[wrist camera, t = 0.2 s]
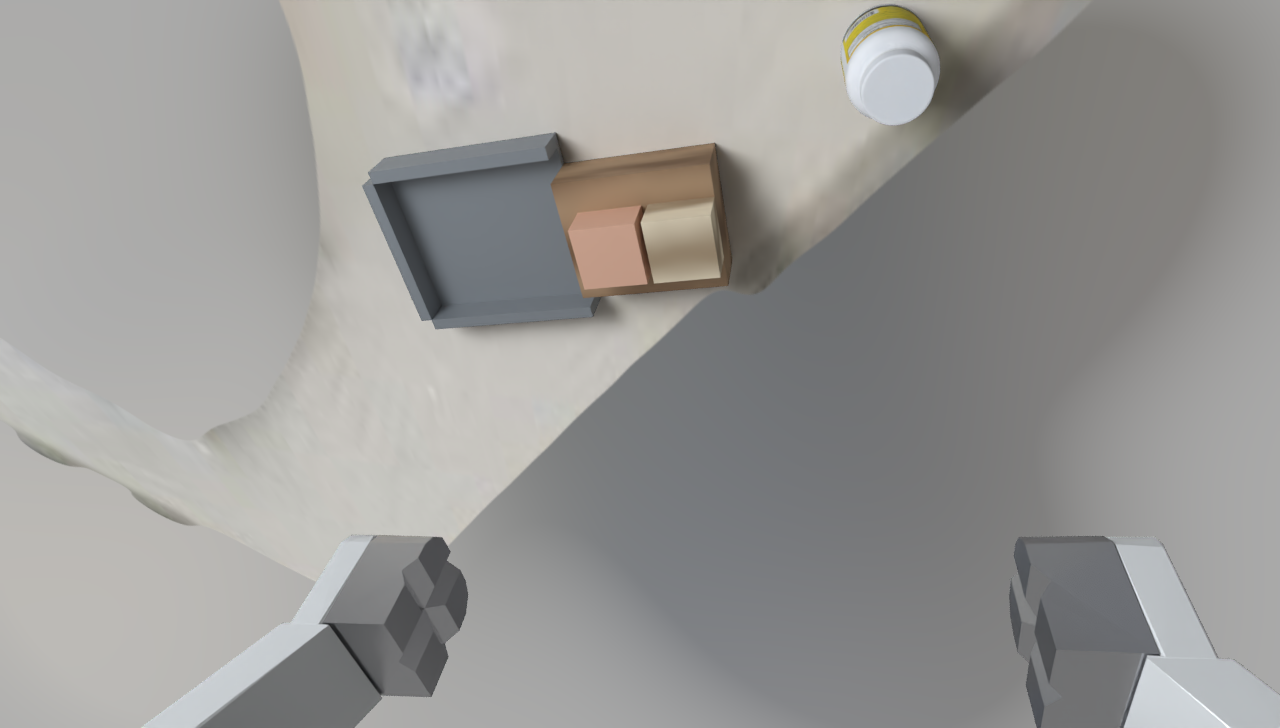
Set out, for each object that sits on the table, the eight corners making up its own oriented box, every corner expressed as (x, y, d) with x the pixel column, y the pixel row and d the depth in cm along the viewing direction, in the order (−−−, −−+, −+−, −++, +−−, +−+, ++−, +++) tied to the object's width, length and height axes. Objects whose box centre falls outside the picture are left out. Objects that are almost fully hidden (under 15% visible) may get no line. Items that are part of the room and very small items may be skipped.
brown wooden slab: (563, 163, 59) (550, 184, 55) (714, 142, 55) (709, 163, 52) (593, 273, 64) (583, 298, 61) (732, 260, 61) (728, 285, 58)
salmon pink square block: (577, 212, 56) (567, 231, 54) (641, 205, 55) (633, 223, 53) (593, 270, 59) (584, 289, 57) (653, 264, 58) (647, 284, 56)
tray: (374, 159, 61) (356, 174, 59) (555, 132, 57) (544, 147, 55) (438, 311, 70) (425, 330, 67) (600, 298, 66) (592, 316, 63)
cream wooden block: (647, 204, 55) (640, 222, 53) (714, 196, 54) (710, 215, 51) (660, 263, 58) (654, 283, 56) (723, 257, 57) (720, 277, 54)
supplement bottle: (913, 90, 51) (933, 143, 43) (833, 84, 52) (838, 134, 44) (935, 4, 48) (960, 44, 40) (849, -2, 48) (857, 37, 41)
